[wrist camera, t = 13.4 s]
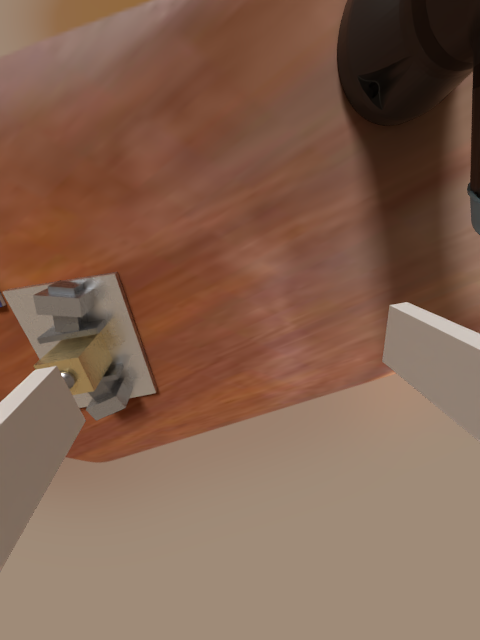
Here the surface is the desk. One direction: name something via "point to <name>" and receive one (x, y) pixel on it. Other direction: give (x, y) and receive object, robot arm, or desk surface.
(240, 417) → the desk surface
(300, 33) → the desk surface
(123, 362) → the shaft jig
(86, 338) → the block
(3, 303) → the hard drive
